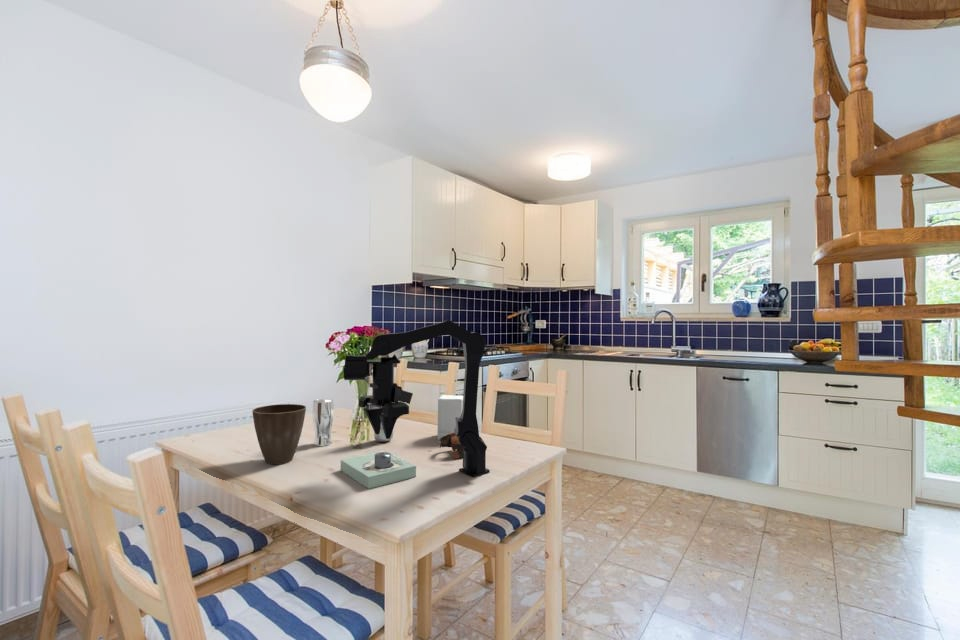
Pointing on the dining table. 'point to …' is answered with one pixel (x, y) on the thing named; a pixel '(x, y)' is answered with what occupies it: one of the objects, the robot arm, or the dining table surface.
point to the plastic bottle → (382, 435)
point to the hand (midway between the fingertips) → (382, 436)
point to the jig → (377, 470)
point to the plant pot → (279, 431)
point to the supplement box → (448, 413)
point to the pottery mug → (452, 445)
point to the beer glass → (323, 421)
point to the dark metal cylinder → (382, 460)
